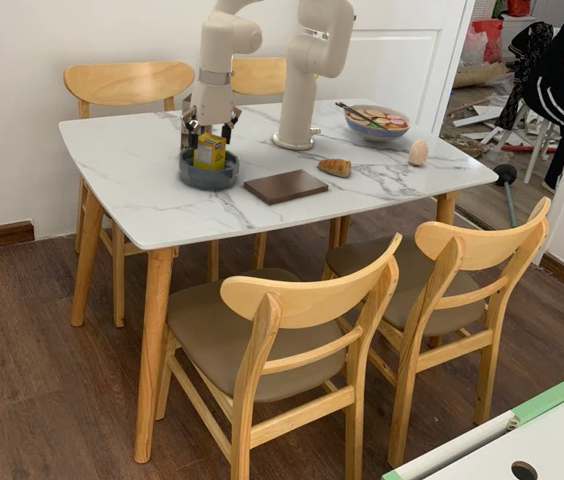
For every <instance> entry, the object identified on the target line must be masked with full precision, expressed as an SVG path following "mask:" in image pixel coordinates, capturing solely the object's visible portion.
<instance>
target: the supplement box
mask: <svg viewBox="0 0 564 480" xmlns="http://www.w3.org/2000/svg"><path fill="white" fill-rule="evenodd" d="M226 150H227V144H226V138H223V137H221V135H220V136H219V135H217V134H214V133H212V134H210V133H205V134H203V135H201V136H199V137H198V149H196V150H194V167H198V168H201V169H207V170H222V169H224V164H225V151H226Z"/></svg>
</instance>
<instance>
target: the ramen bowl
mask: <svg viewBox="0 0 564 480" xmlns="http://www.w3.org/2000/svg"><path fill="white" fill-rule="evenodd" d="M334 105H335V106H337V107H339V108H341V109H343V110H342V111H343V115H344V118H345V121H346V123H347V126H348V127H349V129H350V130H352V132H354V133H355V134H356V135H357V136H360V137H361V138H363V139H364V140H365V141H368V142H373V143H382V142H390V141H394V140H396V139H399V138H401V137H402V136H403V135H405V134H406V133H407V132H408V131H409V129H411V127H412V125H414V122H413V120H412V118H411V117H410V116H408V115H407V114H405V113H403V112H401V111H399V110H395V109H393V108H389V107H385V106H382V105H376V104H375V105H374V104H366V103H365V104H364V103H363V104H359V103H357V104H356V103H355V104H351V105H347V104H345V103H344V102H342V101H339V102H337V101H335V103H334Z"/></svg>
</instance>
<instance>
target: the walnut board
mask: <svg viewBox="0 0 564 480" xmlns="http://www.w3.org/2000/svg"><path fill="white" fill-rule="evenodd" d="M242 187H243V188H244V189H245V190H247V191H248V192H250V193H251V194H253V195H254V196H255V197H257V198H258V199H260V200H261V201H262V202H264V203H265V204H267V205H268V206H272V205H274V204H275V205H276V204H280V203H283V202H286V201H291V200H295V199H299V198H303V197H308V196H311V195H315V194H318V193H319V194H320V193H324V192H327V191H328V190H329V187H330V186H329V184H327V183H326V182H324V181H322V180H321V179H320V178H317V177H316V176H315V175H313V174H311V173H309V172H308V171H306V170H304V169H303V168H301V169H296V170H295V169H294V170H291V171H287V172H282V173H277V174H273V175H268V176H263V177H259V178H254V179H250V180H244V181H243V185H242Z"/></svg>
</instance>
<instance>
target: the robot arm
mask: <svg viewBox="0 0 564 480" xmlns="http://www.w3.org/2000/svg"><path fill="white" fill-rule="evenodd" d="M263 1H264V0H216V2H215V3H214V5H213V6H212V9H211V11H210V12H209V15H208V17H207V19H206V20H204V21H203V23H202V25H201V33H200V50H199V65H198V67H199V68H198V80H197V79H196V80H195V81H194V84H193V86H192V87H193V88H192V92H191V93H192V96H191V103H190V109H189V110H187V111H186V112H184V113H183V114H182V113H181V114H180V116H179V119H180V121H181V123H183V126H184V127H185V128H186V129H187V130H188V131H189V135H188V144H189V146H190V147H192V148H193V149H194V150H196V149H198V134H197V131H198V130H199V129H200V127H201V126H207V125H212V126H216V125H221V124H223V125H222V126H221V133H220V137H223V138H226V146H228V145H231V139H232V130H234V129H235V125H236V124H237V123H238V122H239V118H240V117H241V115H242V112H243V110H242V109H240V108H238V107H237V106H235V105H234V89H233V82H232V81H231V79H232V77H234V76H235V71H234V70H233V69H232V68H233V57H234V55H251V54H254V53H255V52H257V51H258V50H259V49H260V48H261V47H262V45H263V43H264V32H263V29H262V28H261V26H260V25H259V24H258V23H256V22H255V21H253V20H250V19H247V18H244V17H240V16H239V15H237V14H238V13H239V12H240V11H241V10H242V9H243V8H245V7H247V6H248V5H252V4H254V3H259V2H263ZM296 17H297V22H298V24H299V25H300V26H301V27H303V28H304V29H306V30H310V31H313V32H316V33H320V34H323V35H326V36H327V39H326V38H323V37H320V36H317V35H313V34H310V33H304V32H298V33H295V34H293V35H291V36H290V37H289V39H288V40H287V42H286V44H285V52H284V53H285V55H284V56H285V77H284V78H285V79H284V86H283V92H282V103H281V110H280V116H279V124H278V131H277V132H275V133H274V134H272V138H271V140H272V142H273V143H274V144H275V145H277V146H279V147H282V148H284V149H286V150H287V149H288V150H293V151H303V150H304V151H305V150H308V149H310V148H312V147H313V145H314V140H313V138H312V137H313V136H314V135H316V136H317V135H320V134H321V133H322V130H321V128H320V127H316V128H313V127H312V121H313V115H314V108H315V104H316V103H315V102H316V96H317V92H318V91H317V90H318V84H317V78H316V76H320V77H323V78H326V79H335V78H338V77H339V76H340V75H341V74H342V71H343V70H344V67H345V64H346V61H347V56H348V52H349V47H350V42H351V37H352V33H353V30H354V24H355V9H354V6H353V5H352V3H351V2H350V1H349V0H298V7H297V15H296ZM189 118H190V119H191V120H192V121H191V122H190V124H189V121H188V119H189ZM195 124H196V125H195ZM194 126H195V127H194ZM193 127H194V128H193Z"/></svg>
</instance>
